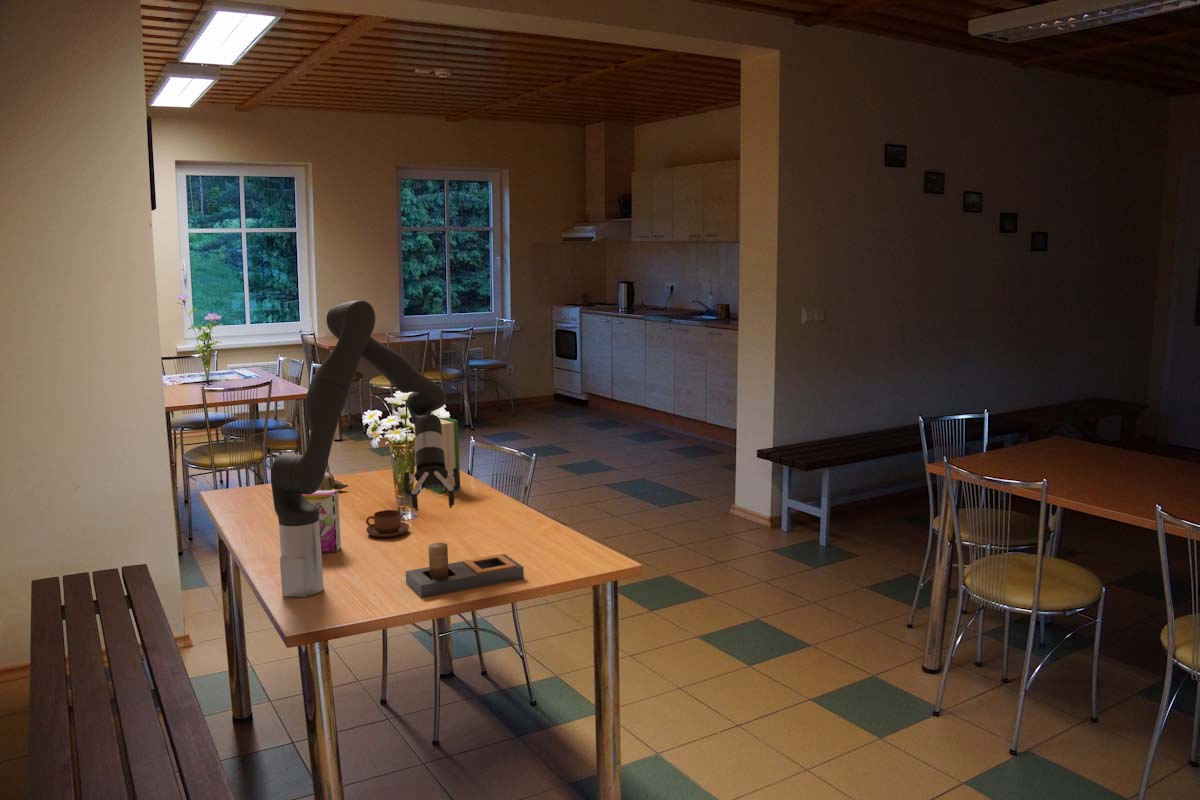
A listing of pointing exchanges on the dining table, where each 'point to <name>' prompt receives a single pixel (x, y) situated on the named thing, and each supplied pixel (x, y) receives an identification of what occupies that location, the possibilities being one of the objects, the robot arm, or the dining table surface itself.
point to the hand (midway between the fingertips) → (433, 508)
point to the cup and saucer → (386, 524)
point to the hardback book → (449, 449)
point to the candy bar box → (327, 518)
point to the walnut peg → (438, 560)
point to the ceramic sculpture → (331, 483)
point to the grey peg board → (466, 575)
